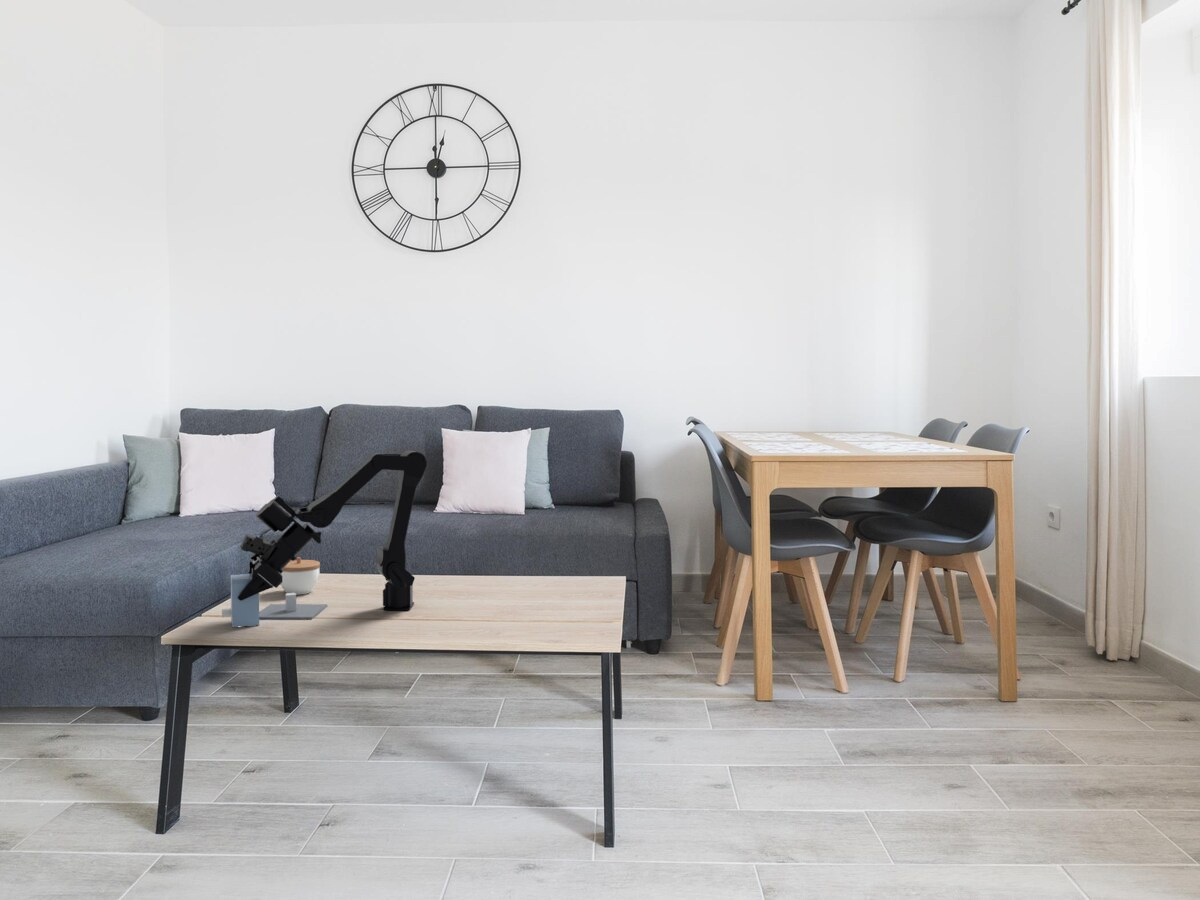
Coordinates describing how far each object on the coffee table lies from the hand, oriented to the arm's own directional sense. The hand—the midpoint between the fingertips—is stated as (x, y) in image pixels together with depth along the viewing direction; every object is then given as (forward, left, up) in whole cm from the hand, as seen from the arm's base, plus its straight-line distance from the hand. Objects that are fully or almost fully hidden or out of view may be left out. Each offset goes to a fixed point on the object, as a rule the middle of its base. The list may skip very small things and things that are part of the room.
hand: (238, 596), depth 184 cm
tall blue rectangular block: (-1, -1, -7) cm, 7 cm away
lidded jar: (-3, -32, -7) cm, 32 cm away
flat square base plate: (-8, -11, -7) cm, 15 cm away
